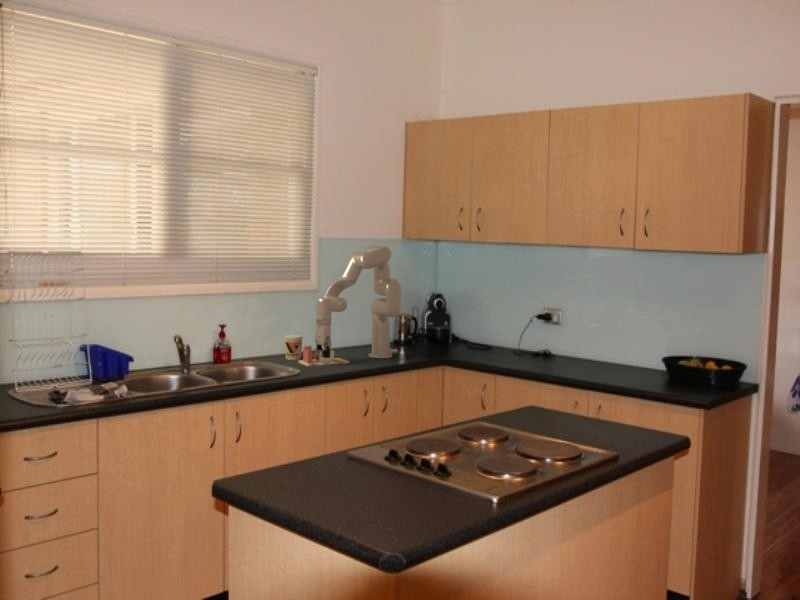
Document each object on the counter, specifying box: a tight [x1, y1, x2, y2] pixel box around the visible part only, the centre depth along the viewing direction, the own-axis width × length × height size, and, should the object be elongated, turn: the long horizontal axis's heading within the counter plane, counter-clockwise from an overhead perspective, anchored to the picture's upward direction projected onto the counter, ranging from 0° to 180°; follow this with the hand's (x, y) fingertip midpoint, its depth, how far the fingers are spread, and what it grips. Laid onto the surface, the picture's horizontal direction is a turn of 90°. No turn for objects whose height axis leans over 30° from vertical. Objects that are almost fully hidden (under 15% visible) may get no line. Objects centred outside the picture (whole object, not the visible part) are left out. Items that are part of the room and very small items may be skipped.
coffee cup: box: [284, 334, 304, 361], centre depth 430 cm, size 9×9×12 cm
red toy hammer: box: [302, 345, 319, 363], centre depth 419 cm, size 14×6×8 cm, turn 120°
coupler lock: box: [313, 348, 335, 362], centre depth 421 cm, size 8×7×5 cm
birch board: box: [297, 357, 350, 367], centre depth 421 cm, size 23×12×1 cm, turn 120°
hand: (323, 356), depth 420 cm, fingers open, 8 cm apart
